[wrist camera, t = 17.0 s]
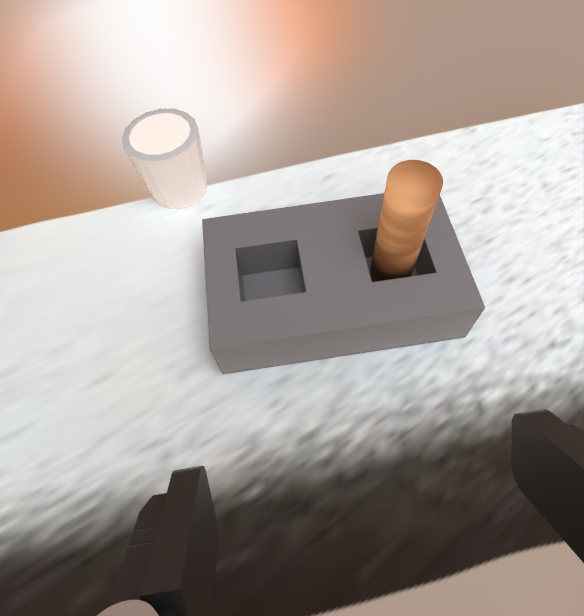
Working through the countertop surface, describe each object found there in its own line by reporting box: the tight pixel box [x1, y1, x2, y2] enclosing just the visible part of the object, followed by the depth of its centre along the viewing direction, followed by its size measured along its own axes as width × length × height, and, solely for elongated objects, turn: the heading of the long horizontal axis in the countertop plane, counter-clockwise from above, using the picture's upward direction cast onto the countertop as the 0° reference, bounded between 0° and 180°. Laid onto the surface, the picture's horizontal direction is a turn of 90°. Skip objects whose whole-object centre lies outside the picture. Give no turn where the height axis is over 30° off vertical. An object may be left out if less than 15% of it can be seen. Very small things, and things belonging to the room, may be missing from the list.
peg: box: [370, 160, 443, 282], centre depth 33 cm, size 3×3×12 cm
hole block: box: [202, 193, 485, 374], centre depth 37 cm, size 20×12×5 cm, turn 98°
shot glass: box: [122, 109, 207, 209], centre depth 44 cm, size 7×7×7 cm
